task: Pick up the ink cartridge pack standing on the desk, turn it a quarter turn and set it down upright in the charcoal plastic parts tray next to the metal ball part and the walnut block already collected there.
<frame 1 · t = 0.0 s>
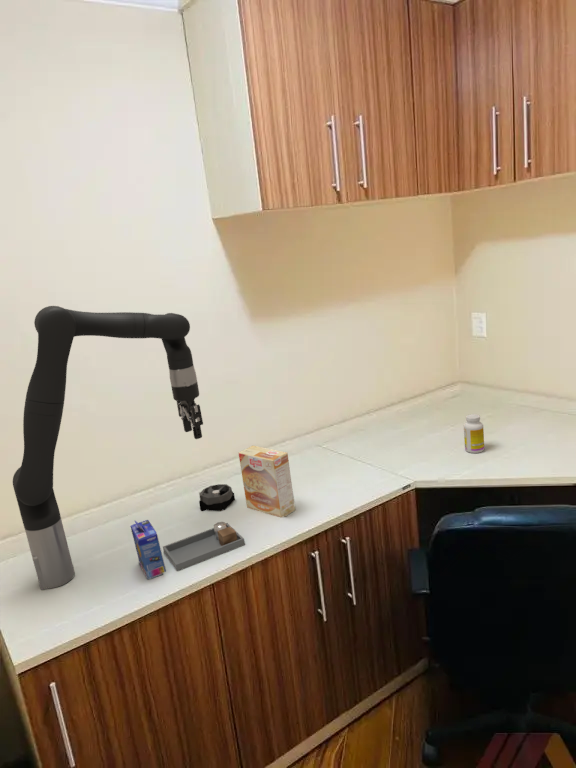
hand: (193, 434, 174), 29 cm above the worktop, fingers open, 8 cm apart
coffeecake box: (271, 510, 185), on the worktop
parts tray: (204, 550, 166), on the worktop
ink cartridge box: (152, 569, 160), on the worktop
cpu cooler: (218, 506, 193), on the worktop
metal ball part: (221, 537, 171), point 1 cm above the worktop, touching parts tray
walnut block part: (228, 544, 166), point 1 cm above the worktop, touching parts tray
supplement bottle: (474, 450, 210), on the worktop
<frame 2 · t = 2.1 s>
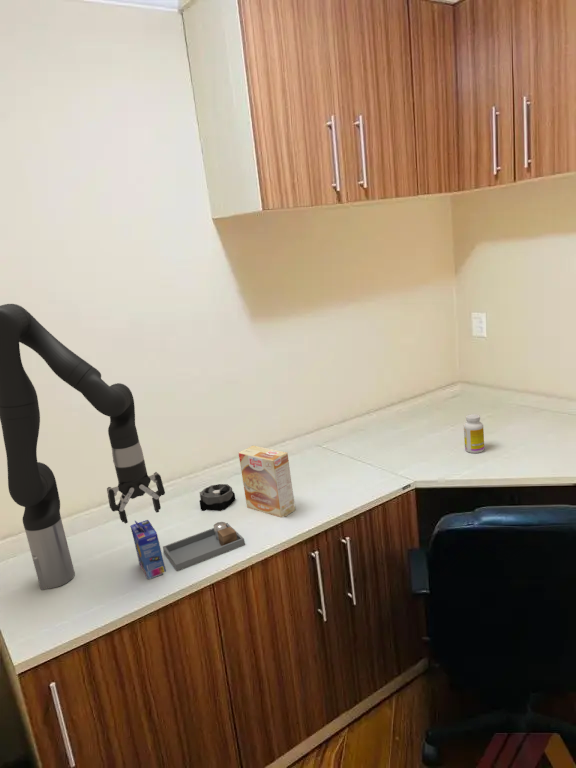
hand: (141, 516, 156), 16 cm above the worktop, fingers open, 8 cm apart
nothing on the worktop moved.
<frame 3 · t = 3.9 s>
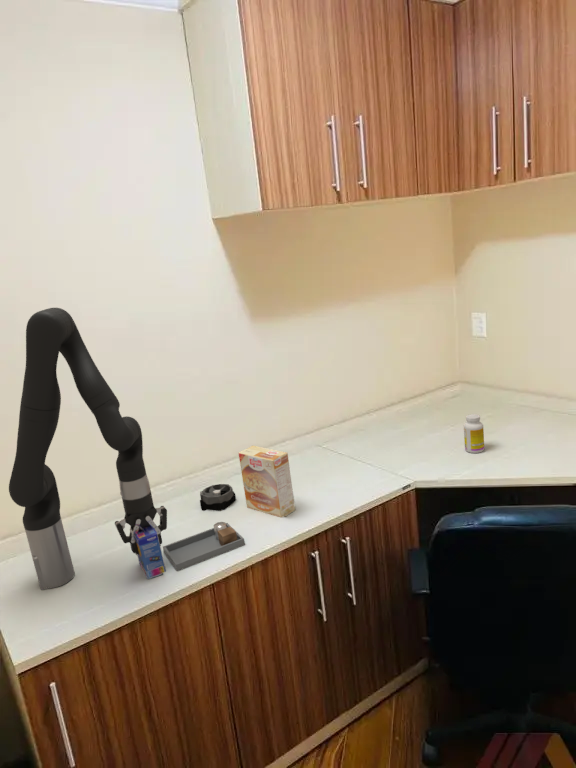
hand: (147, 549, 158), 6 cm above the worktop, fingers closed on ink cartridge box, 5 cm apart
ink cartridge box: (152, 569, 160), on the worktop, touching gripper
everything else where it was.
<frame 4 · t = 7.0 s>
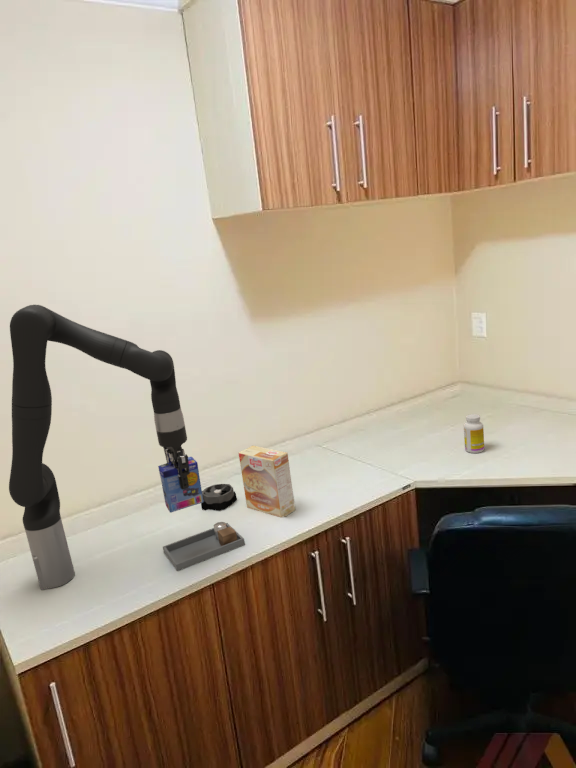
hand: (181, 484, 159), 21 cm above the worktop, fingers closed on ink cartridge box, 5 cm apart
ink cartridge box: (185, 505, 161), point 15 cm above the worktop, touching gripper
everything else where it was.
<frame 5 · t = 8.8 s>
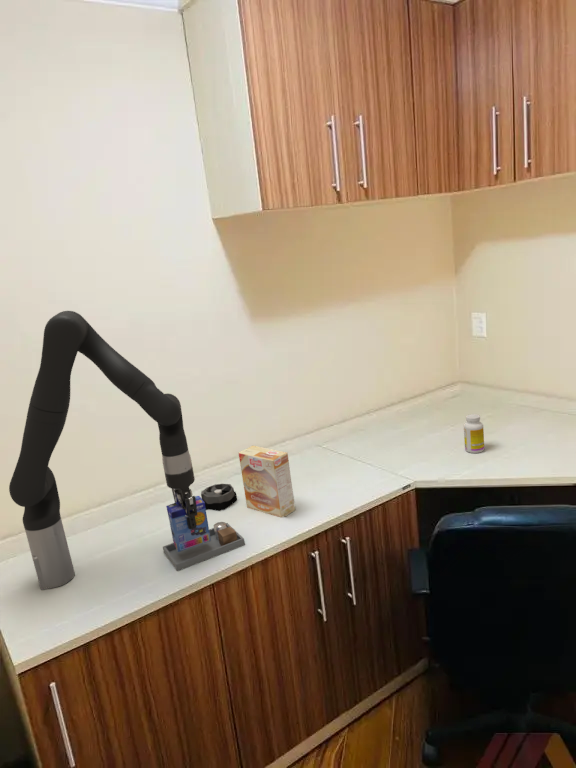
hand: (188, 523, 162), 10 cm above the worktop, fingers closed on ink cartridge box, 5 cm apart
ink cartridge box: (192, 543, 164), point 3 cm above the worktop, touching gripper
everything else where it was.
when the fingers open (8 cm above the worktop, at t = 10.2 s): ink cartridge box drops 1 cm, resting on parts tray.
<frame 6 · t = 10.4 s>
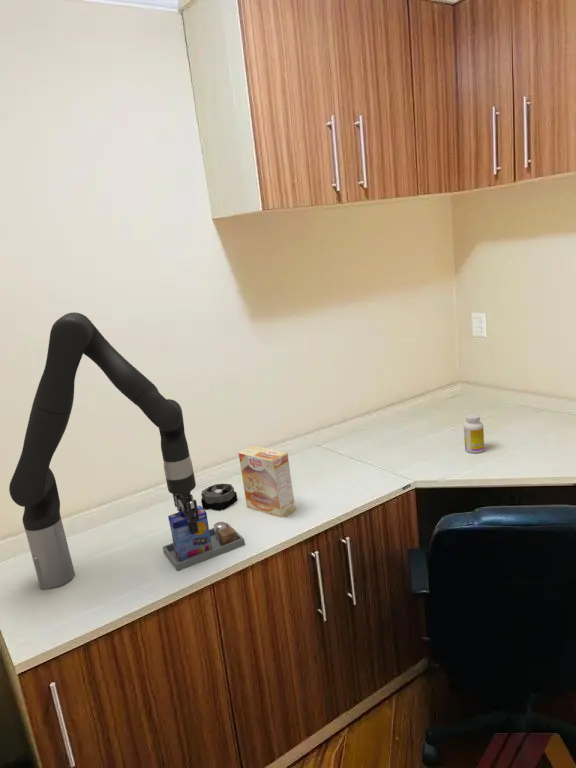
hand: (189, 527, 162), 8 cm above the worktop, fingers open, 7 cm apart
ink cartridge box: (194, 553, 164), resting on parts tray
everything else where it was.
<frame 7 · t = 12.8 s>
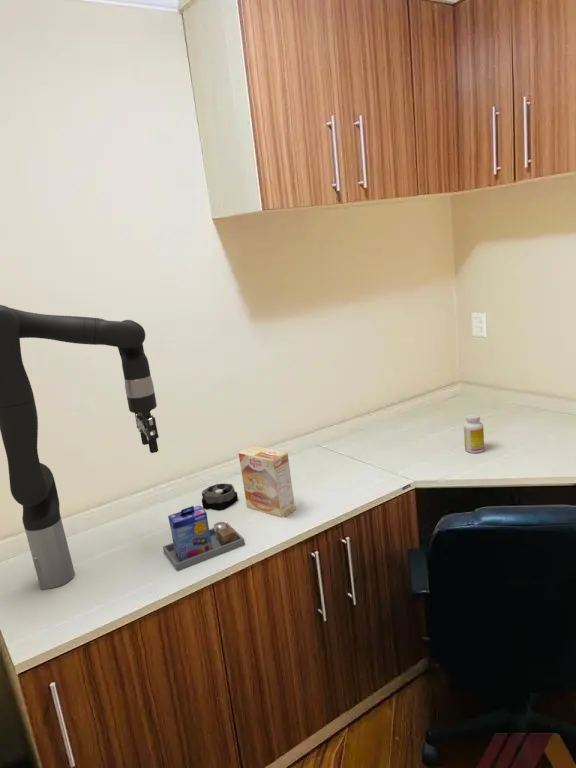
hand: (150, 448, 165), 30 cm above the worktop, fingers open, 8 cm apart
nothing on the worktop moved.
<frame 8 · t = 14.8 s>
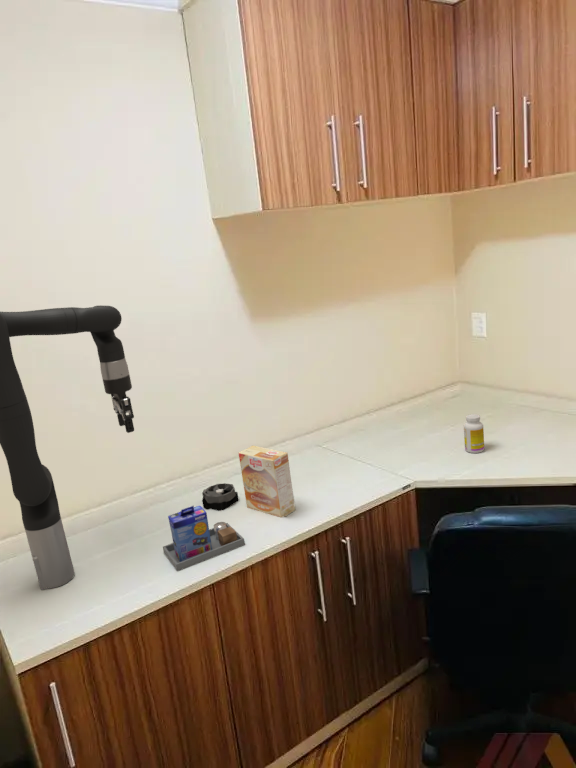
hand: (126, 428, 172), 34 cm above the worktop, fingers open, 8 cm apart
at the end: ink cartridge box inside the target area (0.6 cm from its centre), resting on parts tray; ink cartridge box tilted 0°; the gripper is holding nothing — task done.
